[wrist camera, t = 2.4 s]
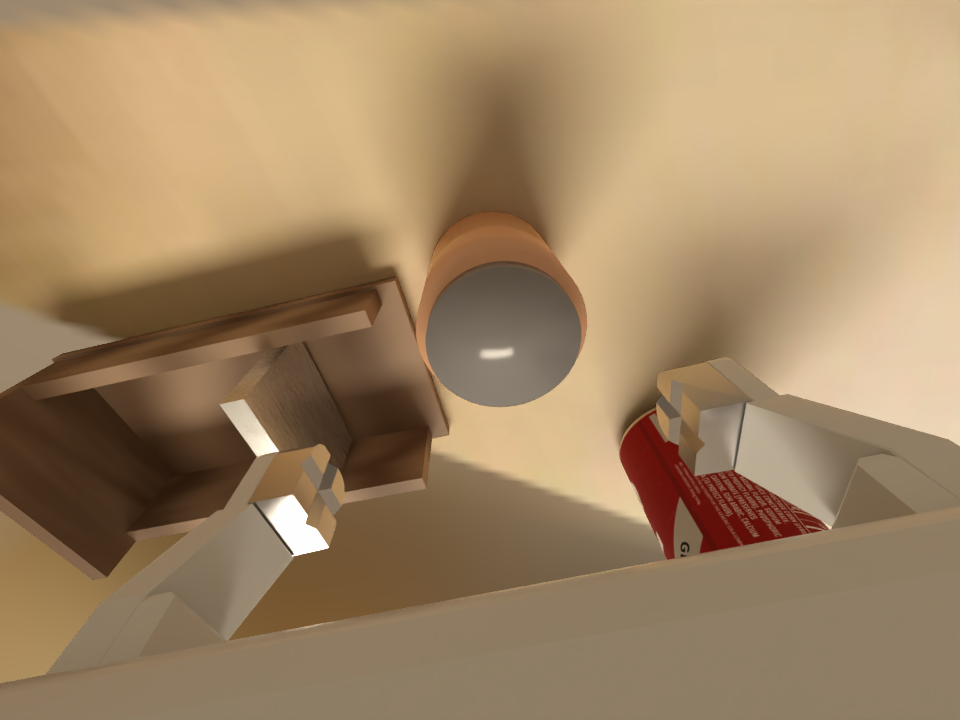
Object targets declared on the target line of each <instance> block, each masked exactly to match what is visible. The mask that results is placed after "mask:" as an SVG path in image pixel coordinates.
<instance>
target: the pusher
mask: <svg viewBox="0 0 960 720" xmlns="http://www.w3.org/2000/svg"><path fill="white" fill-rule="evenodd" d="M219 405H220V406H221V407H222V409H223V410H224V412H225V413H226V414H227V416H228V417H229V418H230V420H231V421H232V423H233V424H234V425H235V427H236V428H237V430H238V431H239V432H240V434H241V435H242V437H243V438H244V439H245V441H246V442H247V443H248V445H249V446H250V448H251V449H252V450H253V452H254V453H255V455H256V456H257V457H259V456H261V455H263V454H268V453H273V452H280V451H283V450H288V449H293V448H299V447H304V446H309V445H315V444H322V445H325V447H326V448H327V450H328V452H329V453H330V455H331V456H330V459H329V462H328V463H329V464H331V465H333V466H335V467H337V468H338V469H339V471H340V473H341V471H342V468H343V465H344V462H345V460H346V457H347V454H348V451H349V449H350V446H351V443H352V440H353V437H352V435H351V434H350V432H349V430H348V428H347V426H346V424H345V422H344V420H343V418H342V416H341V414H340V413H339V411H338V409H337V407H336V405H335V403H334V401H333V399H332V397H331V395H330V393H329V392H328V390H327V388H326V386H325V384H324V382H323V380H322V378H321V376H320V374H319V372H318V371H317V369H316V367H315V365H314V363H313V361H312V359H311V357H310V355H309V353H308V351H307V350H306V348H305V346H304V344H303V342H300V343H295V344H291V345H286V346H282V347H277V348H273V349H269V350H268V351H267V352H266V353H265V354H264V355H263V356H262V357H261V358H260V360H259V361H258V362H257V363H256V364H255V365H254V366H253V367H252V369H251V370H250V371H249V372H248V373H247V374H246V375H245V376H244V377H243V379H242V380H241V381H240V382H239V383H238V384H237V385H236V386H235V388H234V389H233V390H232V391H231V392H230V393H229V394H228V395H227V396H226V398H225V399H224V400H223V401H222V402H221V403H220V404H219Z"/></svg>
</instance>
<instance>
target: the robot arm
mask: <svg viewBox="0 0 960 720" xmlns="http://www.w3.org/2000/svg"><path fill="white" fill-rule="evenodd" d="M657 388H658V389H659V391H660V392H661V393H662V396H661V397H660V398H659V400H658V401H657V402H656V410H657V417H658V421H659V425H660V427H661V429H662V431H663V433H664V435H665V436H666V438H667V439H668V440H669V441H671V442H673V443H675V444H677V445H679V456H680V457H681V458H682V460H683V461H684V462H685V464H686V465H687V467H688V468H689V469H690V471H691V472H692V473H693V475H694V476H699V475H705V474H711V473H716V472H722V471H728V470H734V469H735V472H737V473H739V474H740V475H742V476H744V477H746V478H747V479H749V480H751V481H753V482H754V483H756V484H758V485H760V486H761V487H763V488H765V489H767V490H768V491H770V492H772V493H774V494H776V495H777V496H779V497H781V498H783V499H784V500H786V501H788V502H790V503H791V504H793V505H795V506H797V507H798V508H800V509H802V510H804V511H805V512H807V513H809V514H811V515H812V516H814V517H816V518H818V519H819V520H821V521H823V522H825V523H826V524H828V525H830V526H832V529H830V530H825V531H820V532H814V533H809V534H803V535H798V536H793V537H787V538H782V539H776V540H771V541H766V542H760V543H755V544H749V545H744V546H738V547H733V548H728V549H722V550H717V551H711V552H706V553H701V554H695V555H690V556H685V557H679V558H674V559H669V560H663V561H658V562H653V563H647V564H642V565H637V566H631V567H626V568H620V569H615V570H610V571H604V572H599V573H594V574H589V575H583V576H578V577H572V578H567V579H562V580H556V581H550V582H545V583H540V584H534V585H529V586H524V587H518V588H513V589H507V590H502V591H496V592H491V593H485V594H480V595H475V596H470V597H465V598H459V599H453V600H448V601H442V602H437V603H431V604H426V605H421V606H415V607H410V608H404V609H399V610H393V611H388V612H382V613H377V614H372V615H366V616H361V617H355V618H350V619H345V620H339V621H334V622H329V623H323V624H318V625H313V626H307V627H302V628H296V629H291V630H285V631H280V632H274V633H269V634H264V635H258V636H253V637H247V638H243V639H237V640H231V641H228V640H229V638H230V637H231V636H232V634H233V633H234V632H235V631H236V629H237V628H238V627H239V626H240V624H241V623H242V622H243V621H244V619H245V618H246V617H247V616H248V614H249V613H250V612H251V611H252V609H253V608H254V607H255V606H256V604H257V603H258V602H259V601H260V599H261V598H262V597H263V595H264V594H265V593H266V592H267V591H268V589H269V588H270V587H271V585H272V584H273V583H274V582H275V580H276V579H277V578H278V577H279V576H280V574H281V573H282V572H283V570H284V569H285V568H286V567H287V565H288V564H289V563H290V562H291V560H292V559H293V556H295V555H299V554H303V553H308V552H312V551H316V550H321V549H325V548H329V546H330V542H331V539H332V536H333V533H334V529H335V526H336V520H335V519H334V517H333V515H334V514H335V513H336V512H337V511H338V510H339V508H341V506H342V503H343V499H344V481H343V478H342V475H341V473H340V471H339V469H338V468H337V467H335V466H333V465H331V464H329V463H328V462H329V459H330V456H331V455H330V453H329V452H328V450H327V448H326V447H325V445H322V444H315V445H309V446H304V447H299V448H293V449H288V450H283V451H280V452H273V453H268V454H263V455H261V456H259V457H257V458H256V459H255V460H254V462H253V463H252V465H251V467H250V468H249V470H248V471H247V473H246V474H245V476H244V478H243V479H242V481H241V482H240V484H239V486H238V487H237V489H236V490H235V492H234V493H233V495H232V497H231V498H230V500H229V501H228V503H227V505H226V506H225V508H224V509H223V510H219V511H216V512H215V513H214V514H212V515H211V516H210V517H208V518H207V519H206V520H205V521H203V522H202V523H201V524H200V525H198V526H197V527H196V528H195V529H193V530H192V531H191V532H190V533H188V534H187V535H186V536H184V537H183V538H182V539H181V540H179V541H178V542H177V543H176V544H175V545H173V546H172V547H171V548H169V549H168V550H167V551H166V552H164V553H163V554H162V555H160V556H159V557H158V558H157V559H155V560H154V561H153V562H152V563H150V564H149V565H148V566H147V567H145V568H144V569H143V570H142V571H140V572H139V573H138V574H137V575H135V576H134V577H133V578H132V579H130V580H129V581H128V582H126V583H125V584H124V585H123V586H121V587H120V588H119V589H118V590H116V591H115V592H114V593H112V594H111V595H110V596H109V597H108V598H106V599H105V600H104V601H102V602H101V603H100V604H99V606H98V607H97V608H96V609H95V611H94V612H93V613H92V614H91V616H90V617H89V619H88V620H87V621H86V622H85V624H84V625H83V626H82V628H81V629H80V630H79V632H78V633H77V634H76V635H75V637H74V638H73V639H72V641H71V642H70V643H69V645H68V646H67V647H66V648H65V650H64V651H63V652H62V654H61V655H60V656H59V658H58V659H57V660H56V662H55V663H54V664H53V665H52V667H51V668H50V669H49V671H48V672H47V673H46V675H42V676H37V677H32V678H26V679H21V680H16V681H10V682H4V683H0V720H960V446H958V445H957V444H955V443H953V442H952V441H950V440H948V439H945V438H941V437H938V436H934V435H931V434H927V433H924V432H920V431H916V430H913V429H909V428H906V427H902V426H899V425H895V424H892V423H888V422H884V421H881V420H877V419H874V418H870V417H867V416H863V415H860V414H856V413H852V412H849V411H845V410H842V409H838V408H835V407H831V406H828V405H824V404H820V403H817V402H813V401H810V400H806V399H803V398H799V397H796V396H792V395H789V394H786V395H781V396H780V395H778V394H777V393H776V392H775V391H773V390H772V389H771V388H769V387H768V386H767V385H765V384H764V383H763V382H762V381H760V380H759V379H758V378H756V377H755V376H754V375H753V374H751V373H750V372H749V371H747V370H746V369H745V368H743V367H742V366H741V365H740V364H738V363H737V362H736V361H734V360H733V359H732V358H728V357H722V358H718V359H714V360H710V361H706V362H703V363H700V364H696V365H691V366H686V367H682V368H677V369H672V370H668V371H663V372H659V374H658V377H657Z"/></svg>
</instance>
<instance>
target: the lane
mask: <svg viewBox="0 0 960 720" xmlns="http://www.w3.org/2000/svg"><path fill="white" fill-rule="evenodd" d="M300 342H303V344H304V346H305V348H306V350H307V351H308V353H309V355H310V357H311V359H312V361H313V363H314V365H315V367H316V369H317V371H318V372H319V374H320V376H321V378H322V380H323V382H324V384H325V386H326V388H327V390H328V392H329V393H330V395H331V397H332V399H333V401H334V403H335V405H336V407H337V409H338V411H339V413H340V414H341V416H342V418H343V420H344V422H345V424H346V426H347V428H348V430H349V432H350V434H351V435H352V437H353V440H352V443H351V446H350V449H349V451H348V454H347V457H346V460H345V462H344V465H343V468H342V471H341V475H342V478H343V481H344V499H343V503H342V504H344V503H349V502H354V501H360V500H365V499H371V498H376V497H382V496H387V495H393V494H399V493H404V492H410V491H415V490H420V489H426V488H427V479H428V470H429V461H430V451H431V442H432V438H437V437H442V436H447V435H449V426H448V423H447V421H446V418H445V415H444V412H443V409H442V406H441V403H440V400H439V397H438V394H437V392H436V389H435V386H434V383H433V380H432V377H431V374H430V371H429V369H428V367H427V366H426V364H425V362H424V361H423V358H422V356H421V354H420V351H419V348H418V344H417V338H416V330H415V328H414V325H413V322H412V319H411V316H410V313H409V310H408V307H407V304H406V301H405V298H404V296H403V293H402V290H401V287H400V284H399V281H398V278H397V277H394V278H390V279H385V280H381V281H376V282H372V283H368V284H363V285H359V286H355V287H350V288H346V289H342V290H337V291H333V292H329V293H324V294H320V295H316V296H311V297H307V298H302V299H298V300H294V301H289V302H285V303H281V304H276V305H272V306H268V307H263V308H259V309H255V310H250V311H246V312H242V313H237V314H233V315H228V316H224V317H220V318H215V319H211V320H207V321H202V322H198V323H194V324H189V325H185V326H181V327H176V328H172V329H168V330H163V331H159V332H154V333H150V334H146V335H141V336H137V337H133V338H128V339H124V340H120V341H115V342H111V343H107V344H102V345H98V346H94V347H90V348H85V349H81V350H76V351H72V352H68V353H63V354H61V355H59V356H57V357H55V358H53V359H52V361H54V363H53V364H51V365H50V366H48V367H46V368H45V369H43V370H41V371H39V372H37V373H36V374H34V375H32V376H30V377H29V378H27V379H25V380H23V381H22V382H20V383H18V384H16V385H14V386H13V387H11V388H9V389H7V390H6V391H4V392H2V393H0V510H1V511H2V512H3V513H5V514H6V515H7V516H9V517H10V518H11V519H13V520H14V521H16V522H17V523H18V524H19V525H21V526H22V527H23V528H25V529H26V530H27V531H29V532H30V533H31V534H33V535H34V536H35V537H37V538H38V539H39V540H41V541H42V542H43V543H45V544H46V545H47V546H49V547H50V548H51V549H53V550H54V551H55V552H57V553H58V554H59V555H61V556H62V557H63V558H65V559H66V560H67V561H69V562H70V563H71V564H73V565H74V566H75V567H77V568H78V569H79V570H81V571H82V572H83V573H85V574H86V575H87V576H89V577H90V578H91V579H93V580H94V579H100V578H106V577H108V575H109V574H110V572H112V570H113V569H114V568H115V567H116V565H117V564H118V563H119V562H120V560H121V559H122V558H123V556H124V555H125V554H126V553H127V551H128V550H129V549H130V548H131V547H132V545H133V544H134V543H135V542H136V541H139V540H145V539H151V538H157V537H162V536H168V535H173V534H179V533H184V532H189V531H192V530H193V529H195V528H196V527H197V526H198V525H200V524H201V523H202V522H203V521H205V520H206V519H207V518H208V517H210V516H211V515H212V514H214V513H215V512H216V511H219V510H223V509H224V508H225V506H226V505H227V503H228V501H229V500H230V498H231V497H232V495H233V493H234V492H235V490H236V489H237V487H238V486H239V484H240V482H241V481H242V479H243V478H244V476H245V474H246V473H247V471H248V470H249V468H250V467H251V465H252V463H253V462H254V460H255V459H256V458H257V456H256V455H255V453H254V452H253V450H252V449H251V448H250V446H249V445H248V443H247V442H246V441H245V439H244V438H243V437H242V435H241V434H240V432H239V431H238V430H237V428H236V427H235V425H234V424H233V423H232V421H231V420H230V418H229V417H228V416H227V414H226V413H225V412H224V410H223V409H222V407H221V406H220V405H219V404H220V403H221V402H222V401H223V400H224V399H225V398H226V396H227V395H228V394H229V393H230V392H231V391H232V390H233V389H234V388H235V386H236V385H237V384H238V383H239V382H240V381H241V380H242V379H243V377H244V376H245V375H246V374H247V373H248V372H249V371H250V370H251V369H252V367H253V366H254V365H255V364H256V363H257V362H258V361H259V360H260V358H261V357H262V356H263V355H264V354H265V353H266V352H267V351H268V350H269V349H273V348H277V347H282V346H286V345H291V344H295V343H300Z"/></svg>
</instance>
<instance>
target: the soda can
mask: <svg viewBox="0 0 960 720" xmlns="http://www.w3.org/2000/svg"><path fill="white" fill-rule="evenodd" d="M619 457H620V460H621V463H622V465H623V467H624V469H625V471H626V474H627V476H628V478H629V480H630V482H631V484H632V486H633V488H634V491H635V493H636V495H637V497H638V499H639V501H640V503H641V505H642V507H643V510H644V512H645V514H646V516H647V518H648V520H649V522H650V524H651V526H652V529H653V531H654V533H655V535H656V537H657V539H658V541H659V543H660V545H661V547H662V550H663V552H664V554H665V556H666V558H667V560H669V559H674V558H679V557H685V556H690V555H695V554H701V553H706V552H711V551H717V550H722V549H728V548H733V547H738V546H744V545H749V544H755V543H760V542H766V541H771V540H776V539H782V538H787V537H793V536H798V535H803V534H809V533H814V532H820V531H825V530H829V529H828V527H827V526H826V525H825V524H824V523H823V522H822V521H821V520H819V519H818V518H816V517H814V516H812V515H811V514H809V513H807V512H805V511H804V510H802V509H800V508H798V507H797V506H795V505H793V504H791V503H790V502H788V501H786V500H784V499H783V498H781V497H779V496H777V495H776V494H774V493H772V492H770V491H768V490H767V489H765V488H763V487H761V486H760V485H758V484H756V483H754V482H753V481H751V480H749V479H747V478H746V477H744V476H742V475H740V474H739V473H737V472H735V469H734V470H728V471H722V472H716V473H711V474H705V475H699V476H694V475H693V473H692V472H691V471H690V469H689V468H688V467H687V465H686V464H685V462H684V461H683V460H682V458H681V457H680V456H679V445H677V444H675V443H673V442H671V441H669V440H668V439H667V438H666V436H665V435H664V433H663V431H662V429H661V427H660V425H659V421H658V417H657V410H656V407H655V408H653V409H651V410H649V411H647V412H646V413H644V414H643V415H641V416H640V417H639V418H637V419H636V420H635V421H634V422H633V423H632V424H631V425H630V426H629V427H628V429H627V430H626V432H625V433H624V435H623V437H622V439H621V442H620V446H619Z"/></svg>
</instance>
